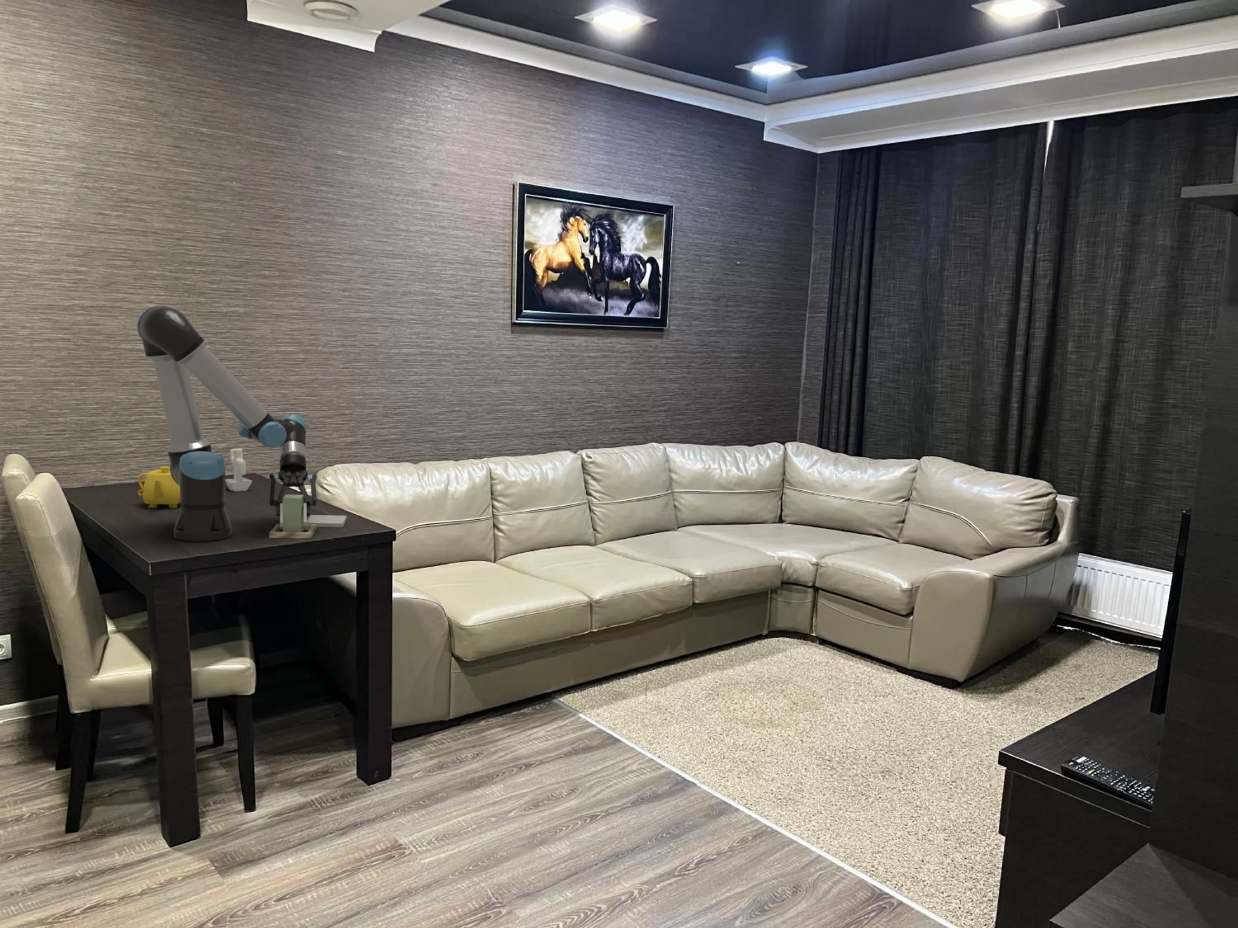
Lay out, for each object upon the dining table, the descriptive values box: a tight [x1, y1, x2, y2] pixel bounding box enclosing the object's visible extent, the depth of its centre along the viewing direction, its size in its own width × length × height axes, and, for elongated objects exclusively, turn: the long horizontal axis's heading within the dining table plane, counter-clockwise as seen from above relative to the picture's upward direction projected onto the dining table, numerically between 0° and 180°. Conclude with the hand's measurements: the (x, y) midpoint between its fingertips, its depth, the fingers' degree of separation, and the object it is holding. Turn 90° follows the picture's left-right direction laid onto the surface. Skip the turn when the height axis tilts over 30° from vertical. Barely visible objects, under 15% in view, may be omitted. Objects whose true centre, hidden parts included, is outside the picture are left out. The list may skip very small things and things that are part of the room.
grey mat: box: [307, 514, 348, 528], centre depth 284 cm, size 11×11×1 cm
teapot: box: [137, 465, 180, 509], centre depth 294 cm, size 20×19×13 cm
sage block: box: [282, 493, 304, 532], centre depth 268 cm, size 5×5×11 cm
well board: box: [268, 523, 317, 539], centre depth 268 cm, size 11×11×2 cm
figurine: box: [225, 447, 253, 493], centre depth 324 cm, size 7×9×15 cm
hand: (293, 524), depth 265 cm, fingers closed on sage block, 6 cm apart
